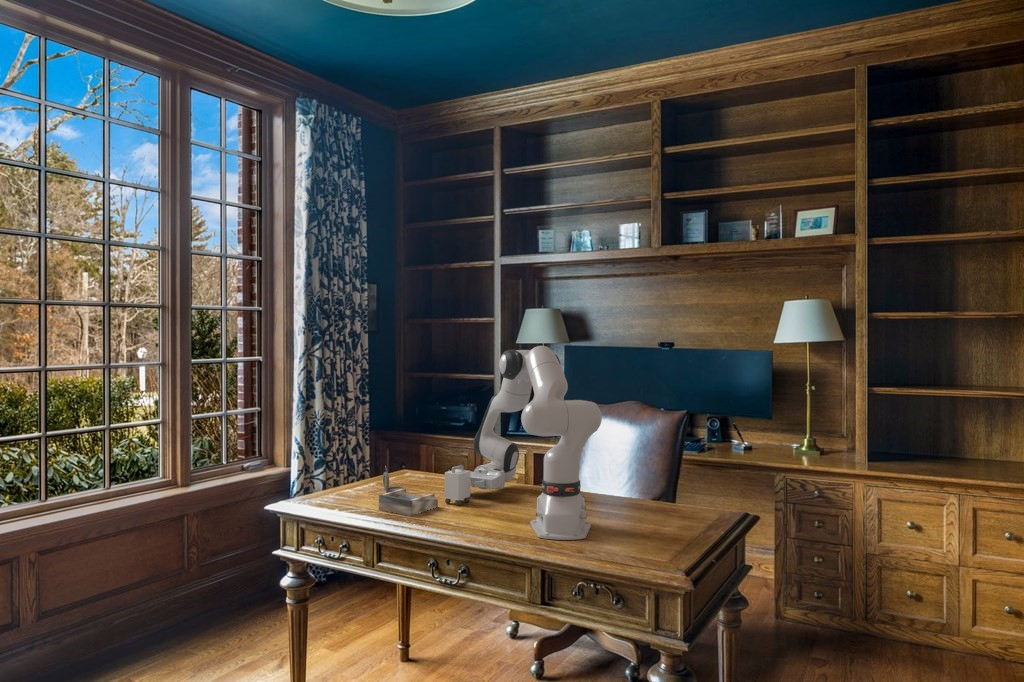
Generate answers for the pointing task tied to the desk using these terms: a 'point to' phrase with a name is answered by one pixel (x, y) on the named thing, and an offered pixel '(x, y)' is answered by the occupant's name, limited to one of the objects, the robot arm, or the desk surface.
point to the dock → (406, 502)
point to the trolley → (457, 485)
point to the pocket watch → (386, 483)
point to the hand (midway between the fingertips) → (462, 483)
